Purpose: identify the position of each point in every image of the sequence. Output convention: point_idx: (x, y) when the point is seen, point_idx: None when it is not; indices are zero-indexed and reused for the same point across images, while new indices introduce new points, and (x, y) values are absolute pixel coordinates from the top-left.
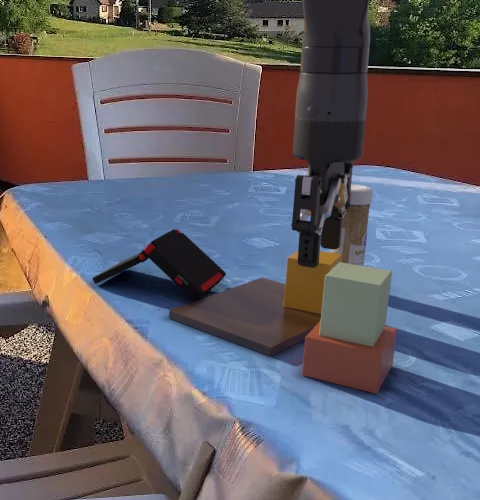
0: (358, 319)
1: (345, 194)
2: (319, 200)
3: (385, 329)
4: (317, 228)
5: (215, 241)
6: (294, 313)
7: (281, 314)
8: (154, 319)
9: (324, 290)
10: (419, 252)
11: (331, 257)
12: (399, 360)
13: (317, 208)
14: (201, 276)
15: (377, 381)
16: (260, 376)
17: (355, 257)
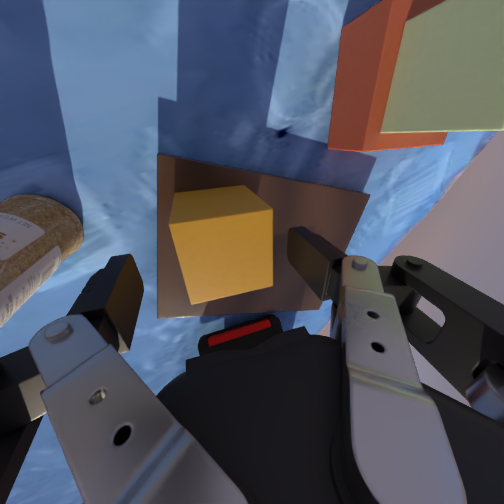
0: None
1: (108, 407)
2: (501, 331)
3: (405, 19)
4: (409, 259)
5: (41, 432)
6: None
7: (275, 232)
8: (321, 308)
9: None
10: None
11: (216, 231)
12: (316, 18)
13: (477, 304)
14: (254, 340)
15: None
16: (403, 179)
17: (10, 230)
